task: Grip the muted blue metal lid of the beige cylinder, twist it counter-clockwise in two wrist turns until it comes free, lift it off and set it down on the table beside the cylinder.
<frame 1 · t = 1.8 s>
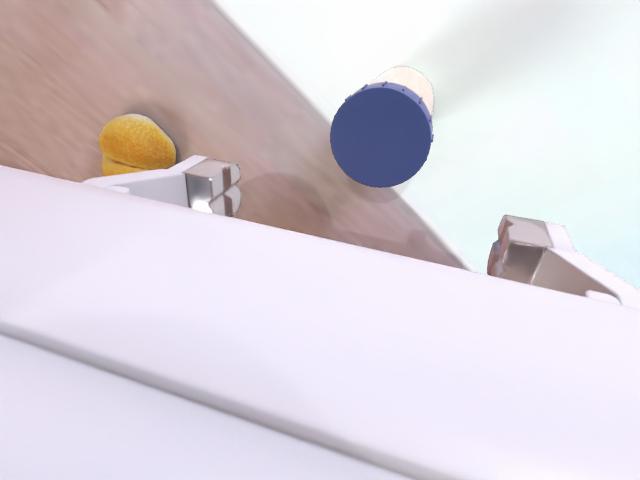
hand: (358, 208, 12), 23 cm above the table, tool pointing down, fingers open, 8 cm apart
bread roll: (147, 156, 42), on the table
beige cylinder: (399, 102, 33), on the table
lid: (379, 138, 24), point 11 cm above the table, screwed on, not yet turned
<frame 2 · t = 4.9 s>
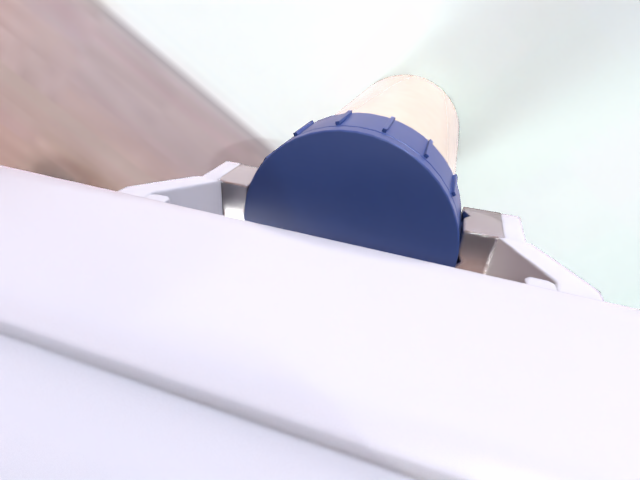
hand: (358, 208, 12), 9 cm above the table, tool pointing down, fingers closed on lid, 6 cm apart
beige cylinder: (401, 132, 20), on the table
lid: (346, 233, 11), point 11 cm above the table, screwed on, not yet turned, touching gripper
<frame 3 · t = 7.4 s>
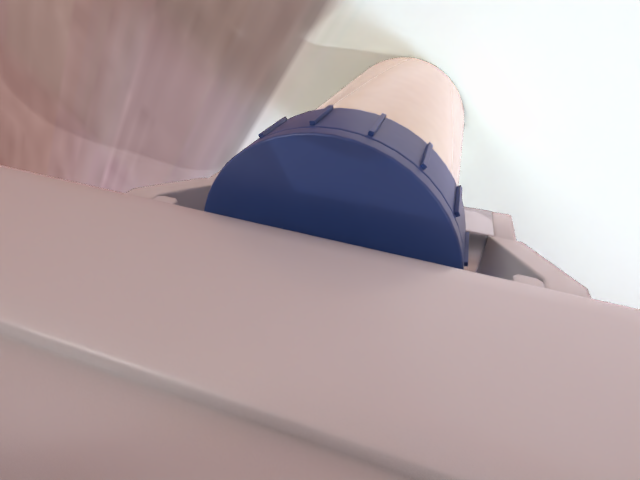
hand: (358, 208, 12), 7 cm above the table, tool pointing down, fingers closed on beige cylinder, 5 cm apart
beige cylinder: (400, 122, 18), on the table, touching gripper
lid: (326, 256, 9), point 11 cm above the table, turned 89° so far, risen 0.2 cm, still on its thread
when the fingers open (7 cm above the table, at t = 9.2 s): beige cylinder stays where it is, on the table.
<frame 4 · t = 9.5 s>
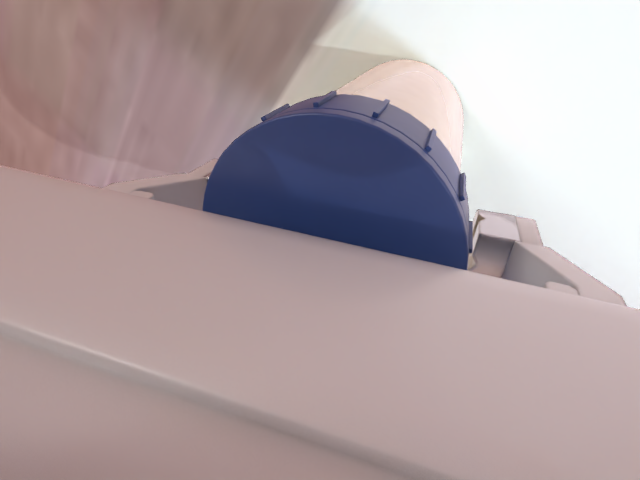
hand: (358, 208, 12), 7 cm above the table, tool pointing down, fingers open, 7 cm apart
beige cylinder: (399, 125, 18), on the table
lid: (328, 243, 9), point 11 cm above the table, turned 89° so far, risen 0.2 cm, still on its thread
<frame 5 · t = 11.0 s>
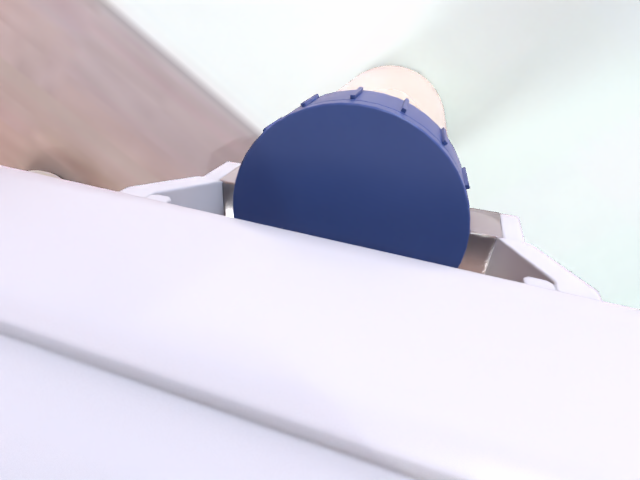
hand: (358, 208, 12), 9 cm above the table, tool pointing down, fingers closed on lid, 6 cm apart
beige cylinder: (386, 125, 20), on the table
lid: (346, 220, 10), point 11 cm above the table, turned 83° so far, risen 0.2 cm, still on its thread, touching gripper
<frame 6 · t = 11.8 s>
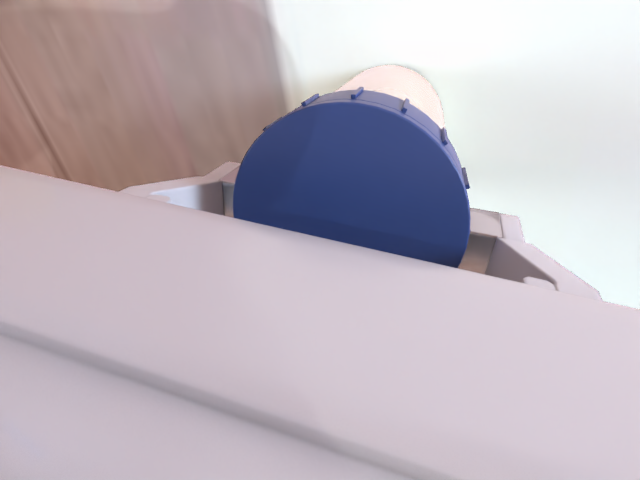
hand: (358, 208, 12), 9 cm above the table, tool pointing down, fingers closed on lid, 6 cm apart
beige cylinder: (385, 124, 20), on the table, touching gripper
lid: (346, 220, 10), point 11 cm above the table, off its thread, touching gripper
when the fingers open (0 cm above the table, at t = 19.1 s): lid stays where it is, point 1 cm above the table.
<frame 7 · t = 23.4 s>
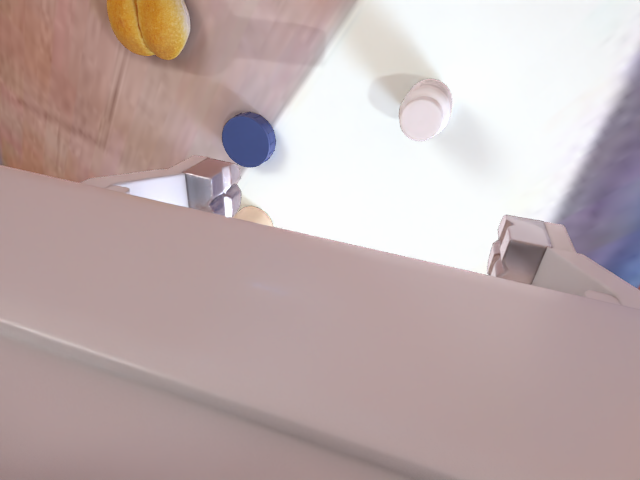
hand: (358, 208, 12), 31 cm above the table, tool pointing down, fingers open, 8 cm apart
bread roll: (157, 16, 44), on the table
beige cylinder: (254, 224, 53), on the table
pill bottle: (429, 101, 40), on the table
lid: (246, 141, 46), point 1 cm above the table, off its thread
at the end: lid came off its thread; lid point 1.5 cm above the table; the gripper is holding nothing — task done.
